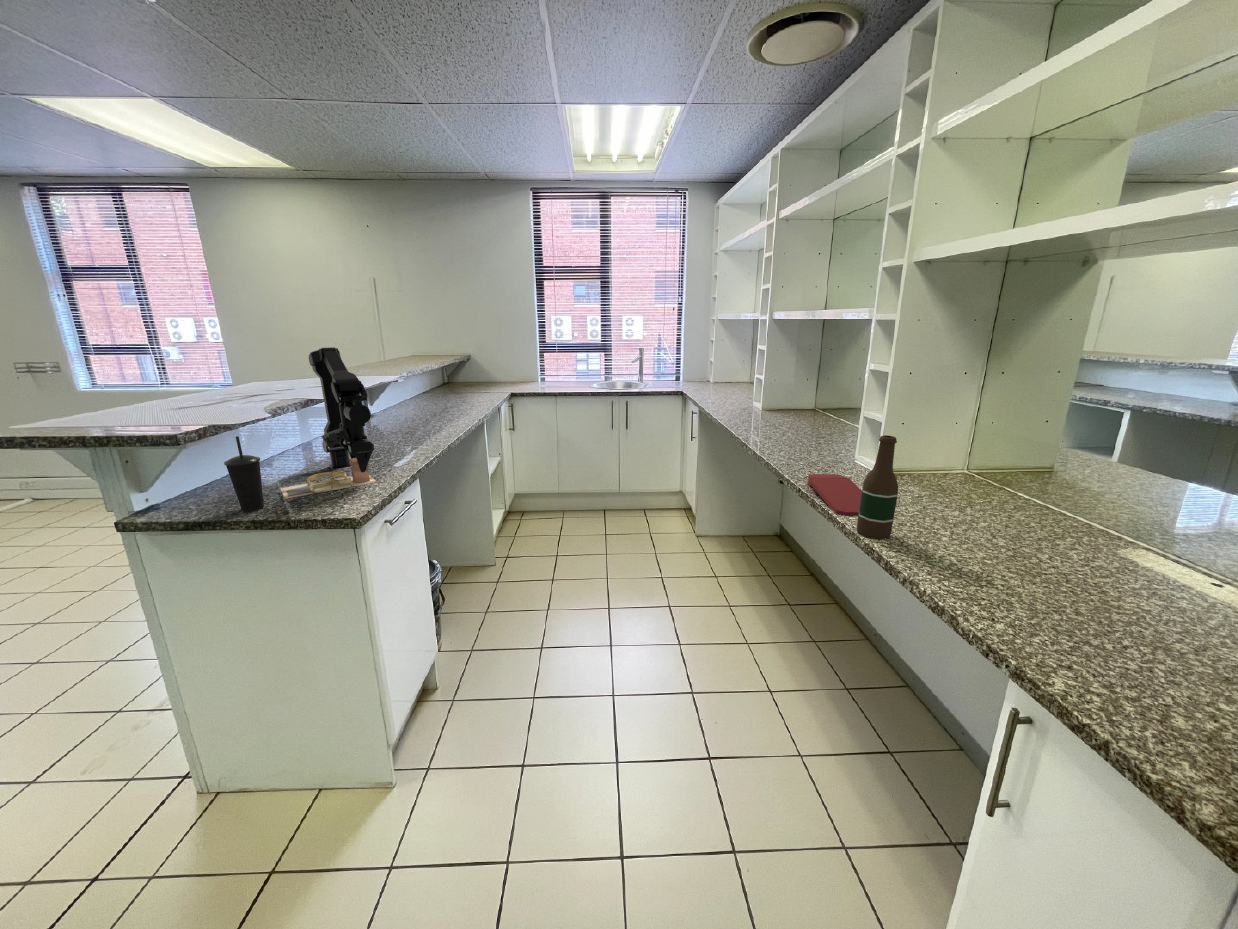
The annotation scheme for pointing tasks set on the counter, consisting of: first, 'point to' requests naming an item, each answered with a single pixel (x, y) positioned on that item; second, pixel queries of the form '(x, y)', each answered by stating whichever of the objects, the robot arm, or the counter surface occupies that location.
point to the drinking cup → (246, 480)
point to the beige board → (306, 490)
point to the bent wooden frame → (330, 482)
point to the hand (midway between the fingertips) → (359, 468)
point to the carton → (837, 492)
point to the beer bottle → (879, 494)
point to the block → (358, 472)
